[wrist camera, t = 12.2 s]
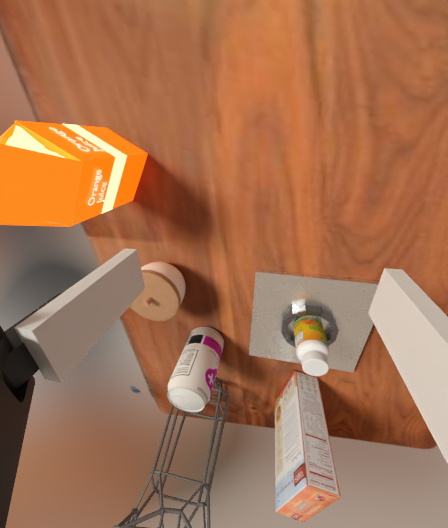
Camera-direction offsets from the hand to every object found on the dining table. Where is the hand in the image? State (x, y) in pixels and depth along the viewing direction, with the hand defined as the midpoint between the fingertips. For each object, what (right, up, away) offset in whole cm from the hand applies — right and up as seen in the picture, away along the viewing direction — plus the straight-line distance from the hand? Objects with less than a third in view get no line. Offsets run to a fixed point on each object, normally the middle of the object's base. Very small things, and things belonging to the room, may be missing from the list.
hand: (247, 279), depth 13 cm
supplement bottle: (+15, -11, +32) cm, 37 cm away
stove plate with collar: (+15, -11, +33) cm, 38 cm away
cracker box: (+16, -30, +44) cm, 55 cm away
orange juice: (-19, +17, +26) cm, 36 cm away
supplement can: (-5, -16, +41) cm, 45 cm away
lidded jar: (-13, -2, +35) cm, 37 cm away
